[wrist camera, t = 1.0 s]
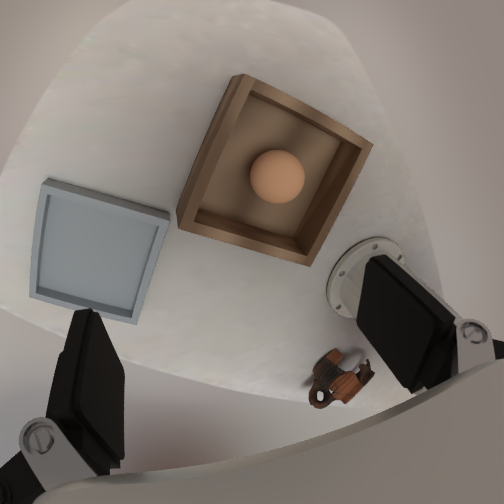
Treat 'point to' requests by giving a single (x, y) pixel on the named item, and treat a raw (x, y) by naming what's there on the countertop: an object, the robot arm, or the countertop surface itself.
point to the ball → (277, 176)
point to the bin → (240, 163)
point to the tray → (94, 251)
